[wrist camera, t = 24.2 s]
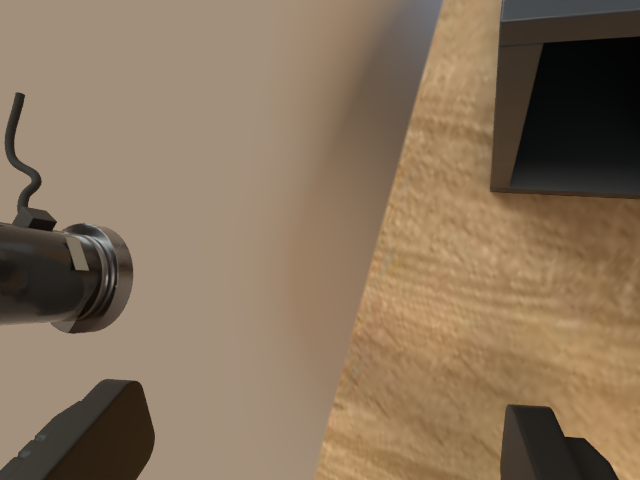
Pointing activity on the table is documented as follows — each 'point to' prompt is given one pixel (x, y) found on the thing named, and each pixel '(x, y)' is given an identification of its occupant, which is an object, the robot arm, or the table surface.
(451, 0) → the table surface
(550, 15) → the cupboard
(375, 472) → the table surface
